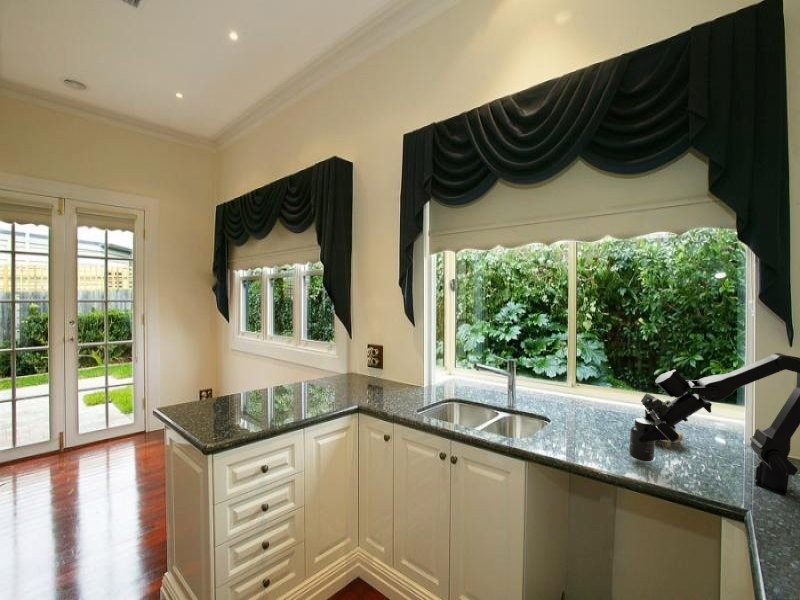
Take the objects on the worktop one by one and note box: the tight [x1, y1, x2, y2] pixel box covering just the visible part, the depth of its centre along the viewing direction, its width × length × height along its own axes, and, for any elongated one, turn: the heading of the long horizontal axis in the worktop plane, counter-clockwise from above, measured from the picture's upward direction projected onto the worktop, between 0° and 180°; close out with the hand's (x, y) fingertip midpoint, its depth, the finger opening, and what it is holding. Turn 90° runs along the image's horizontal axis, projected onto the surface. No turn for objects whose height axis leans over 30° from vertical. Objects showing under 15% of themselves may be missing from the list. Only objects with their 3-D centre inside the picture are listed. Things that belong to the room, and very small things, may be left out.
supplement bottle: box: [628, 417, 656, 462], centre depth 122 cm, size 7×7×12 cm
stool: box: [659, 429, 684, 449], centre depth 138 cm, size 12×12×4 cm
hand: (637, 436), depth 123 cm, fingers closed on supplement bottle, 7 cm apart
